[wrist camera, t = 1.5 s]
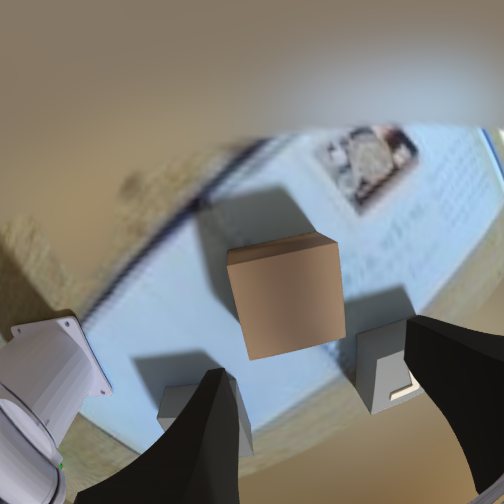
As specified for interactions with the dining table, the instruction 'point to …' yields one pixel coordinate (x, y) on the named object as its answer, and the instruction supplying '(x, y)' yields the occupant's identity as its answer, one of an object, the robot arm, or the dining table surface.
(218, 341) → the dining table surface
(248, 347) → the walnut block
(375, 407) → the slate block
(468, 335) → the robot arm
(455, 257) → the dining table surface
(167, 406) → the slate block
